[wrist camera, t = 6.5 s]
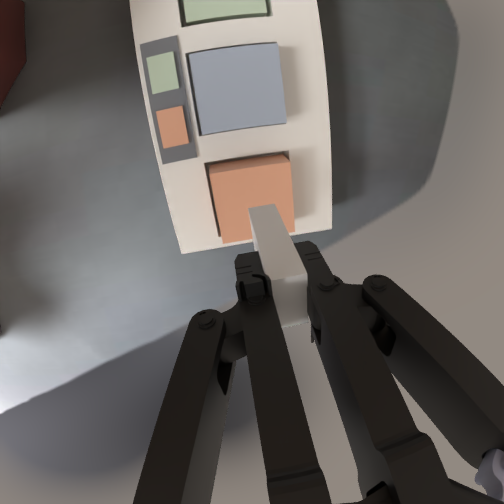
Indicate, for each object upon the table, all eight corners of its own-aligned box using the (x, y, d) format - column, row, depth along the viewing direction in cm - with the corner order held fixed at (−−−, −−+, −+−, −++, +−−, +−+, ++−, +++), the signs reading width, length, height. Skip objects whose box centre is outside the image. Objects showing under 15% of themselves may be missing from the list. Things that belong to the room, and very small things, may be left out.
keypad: (185, 231, 30) (181, 256, 26) (137, -24, 15) (124, -41, 11) (317, 209, 31) (333, 231, 27) (292, -43, 16) (306, -61, 12)
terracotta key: (221, 229, 26) (222, 244, 24) (209, 165, 23) (209, 174, 21) (288, 218, 26) (295, 231, 24) (282, 154, 23) (290, 162, 21)
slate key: (203, 129, 21) (202, 134, 19) (191, 57, 18) (188, 54, 16) (279, 118, 22) (286, 122, 19) (271, 47, 18) (277, 43, 16)
